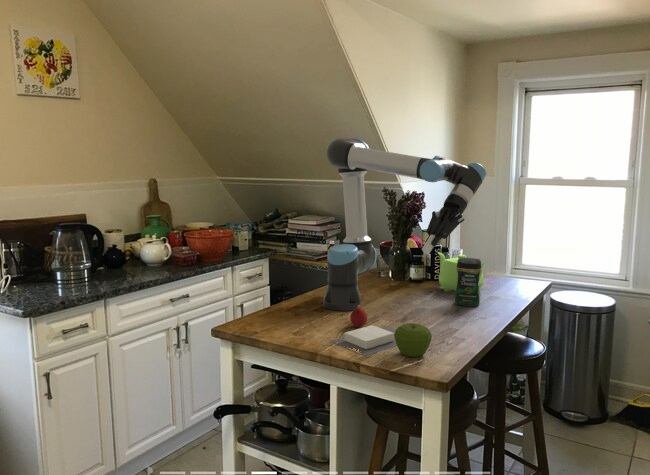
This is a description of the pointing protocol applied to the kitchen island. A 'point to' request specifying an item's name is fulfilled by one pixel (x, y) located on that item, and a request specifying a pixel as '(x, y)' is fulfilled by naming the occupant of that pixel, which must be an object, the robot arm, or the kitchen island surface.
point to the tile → (369, 337)
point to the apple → (412, 339)
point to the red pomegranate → (358, 317)
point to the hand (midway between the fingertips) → (425, 252)
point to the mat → (370, 350)
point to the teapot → (452, 273)
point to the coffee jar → (468, 282)
